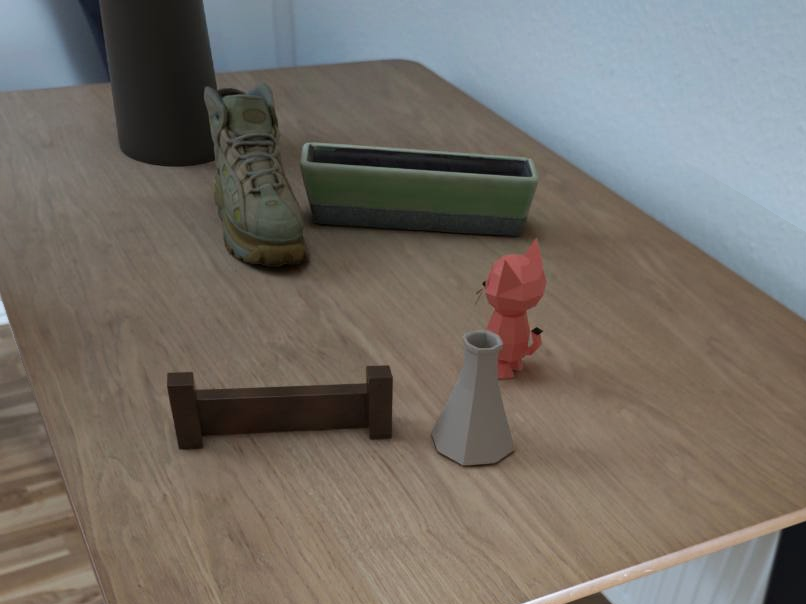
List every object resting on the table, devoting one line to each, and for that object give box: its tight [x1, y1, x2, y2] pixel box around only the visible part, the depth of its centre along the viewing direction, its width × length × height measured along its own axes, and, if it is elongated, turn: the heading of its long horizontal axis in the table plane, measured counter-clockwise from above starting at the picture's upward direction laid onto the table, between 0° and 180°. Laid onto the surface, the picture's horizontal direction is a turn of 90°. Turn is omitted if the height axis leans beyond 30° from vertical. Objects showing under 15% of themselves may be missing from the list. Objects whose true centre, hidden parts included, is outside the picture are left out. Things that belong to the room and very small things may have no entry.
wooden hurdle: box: [166, 364, 394, 450], centre depth 75 cm, size 18×3×6 cm, turn 102°
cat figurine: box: [474, 237, 547, 380], centre depth 83 cm, size 7×7×12 cm
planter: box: [299, 141, 539, 237], centre depth 107 cm, size 28×7×7 cm, turn 94°
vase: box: [98, 0, 218, 167], centre depth 108 cm, size 14×14×29 cm
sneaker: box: [204, 81, 310, 268], centre depth 98 cm, size 11×19×15 cm, turn 12°
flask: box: [430, 329, 516, 466], centre depth 75 cm, size 7×7×10 cm
